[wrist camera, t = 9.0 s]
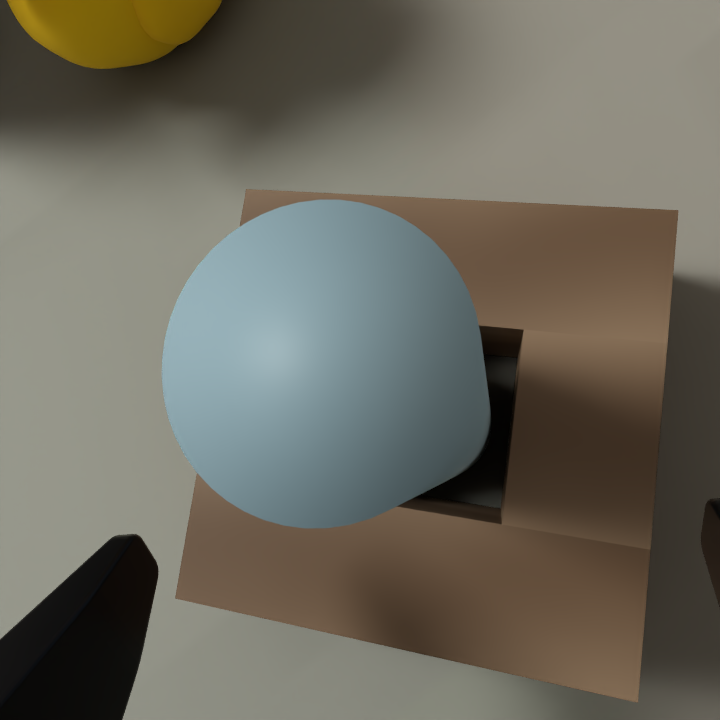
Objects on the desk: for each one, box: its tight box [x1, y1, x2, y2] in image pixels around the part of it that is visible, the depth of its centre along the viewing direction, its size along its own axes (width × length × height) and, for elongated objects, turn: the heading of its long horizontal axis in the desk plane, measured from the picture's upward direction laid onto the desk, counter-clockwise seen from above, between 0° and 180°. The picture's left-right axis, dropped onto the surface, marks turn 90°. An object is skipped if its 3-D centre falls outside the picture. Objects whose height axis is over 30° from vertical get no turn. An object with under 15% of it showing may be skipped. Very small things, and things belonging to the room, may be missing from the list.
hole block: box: [175, 189, 678, 703], centre depth 16 cm, size 10×10×4 cm
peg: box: [162, 200, 492, 528], centre depth 12 cm, size 3×3×12 cm
